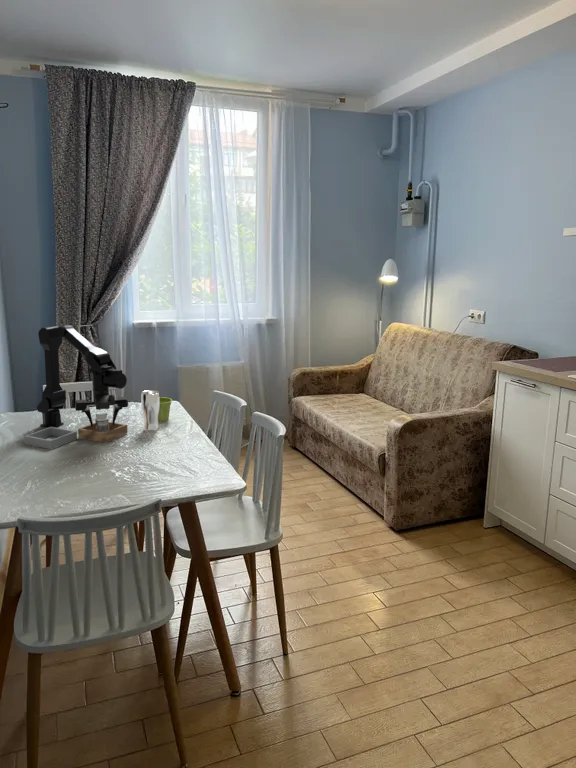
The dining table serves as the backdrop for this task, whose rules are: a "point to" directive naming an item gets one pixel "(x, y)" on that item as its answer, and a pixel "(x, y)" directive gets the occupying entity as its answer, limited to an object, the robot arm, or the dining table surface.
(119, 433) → the walnut bin
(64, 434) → the bin
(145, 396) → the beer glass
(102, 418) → the pill bottle
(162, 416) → the plant pot
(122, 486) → the dining table surface
